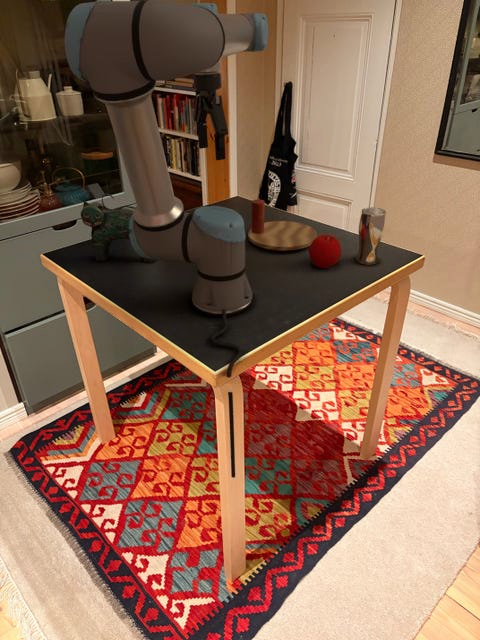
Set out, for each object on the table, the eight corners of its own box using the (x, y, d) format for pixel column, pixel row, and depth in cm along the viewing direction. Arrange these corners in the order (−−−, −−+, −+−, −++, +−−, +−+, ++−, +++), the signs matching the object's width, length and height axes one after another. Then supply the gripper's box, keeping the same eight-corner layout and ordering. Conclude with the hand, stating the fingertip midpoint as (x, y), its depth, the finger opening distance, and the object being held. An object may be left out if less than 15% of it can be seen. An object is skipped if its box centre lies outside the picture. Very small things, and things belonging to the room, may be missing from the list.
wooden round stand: (318, 226, 157) (321, 193, 151) (314, 252, 139) (317, 216, 133) (254, 222, 161) (254, 190, 155) (242, 248, 143) (242, 212, 137)
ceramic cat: (88, 262, 139) (75, 195, 128) (97, 253, 144) (84, 189, 133) (153, 264, 137) (145, 197, 126) (159, 255, 142) (152, 190, 131)
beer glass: (365, 253, 141) (372, 205, 133) (383, 261, 136) (392, 211, 128) (349, 259, 138) (355, 210, 130) (367, 267, 133) (375, 217, 125)
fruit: (335, 274, 130) (338, 240, 124) (304, 268, 133) (306, 235, 128) (343, 261, 137) (346, 228, 131) (313, 256, 140) (316, 224, 135)
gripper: (238, 77, 117) (241, 162, 129) (203, 66, 135) (208, 141, 147) (211, 80, 114) (216, 167, 126) (178, 68, 133) (185, 145, 145)
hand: (211, 153), depth 137 cm, fingers open, 13 cm apart
